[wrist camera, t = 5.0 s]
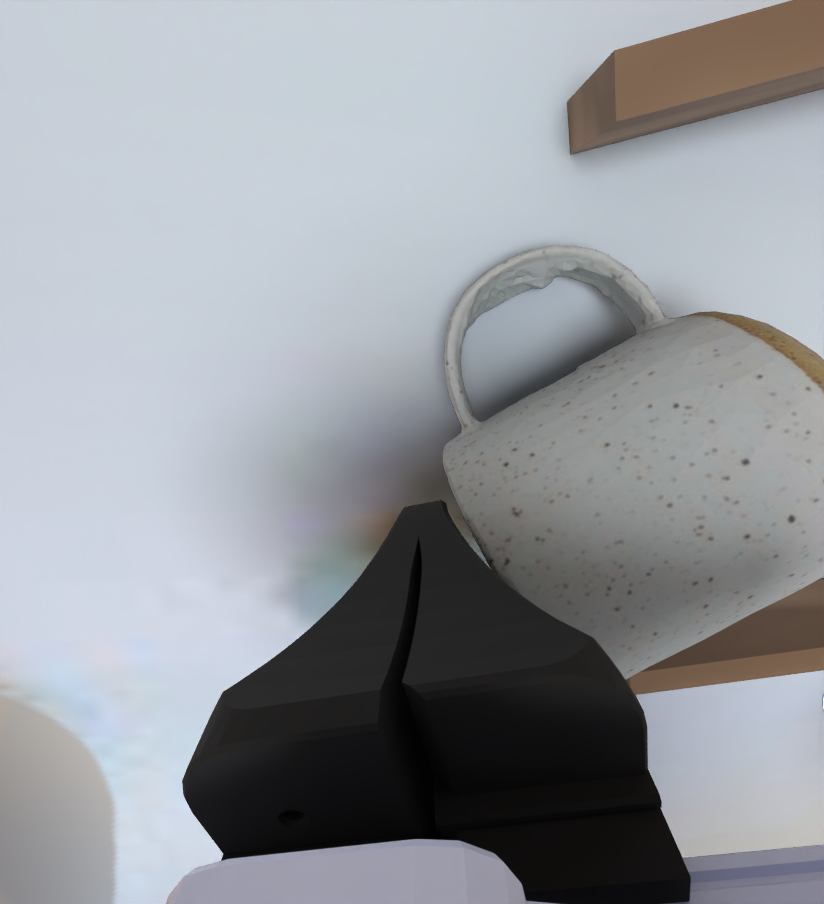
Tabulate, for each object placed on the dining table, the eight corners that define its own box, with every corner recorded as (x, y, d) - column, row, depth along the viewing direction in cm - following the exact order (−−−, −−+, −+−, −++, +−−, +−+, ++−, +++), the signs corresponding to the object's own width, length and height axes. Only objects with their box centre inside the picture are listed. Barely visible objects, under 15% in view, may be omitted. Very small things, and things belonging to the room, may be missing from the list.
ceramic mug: (737, 459, 15) (1004, 619, 8) (536, 564, 17) (613, 766, 10) (606, 180, 12) (860, 54, 5) (377, 349, 14) (332, 427, 7)
